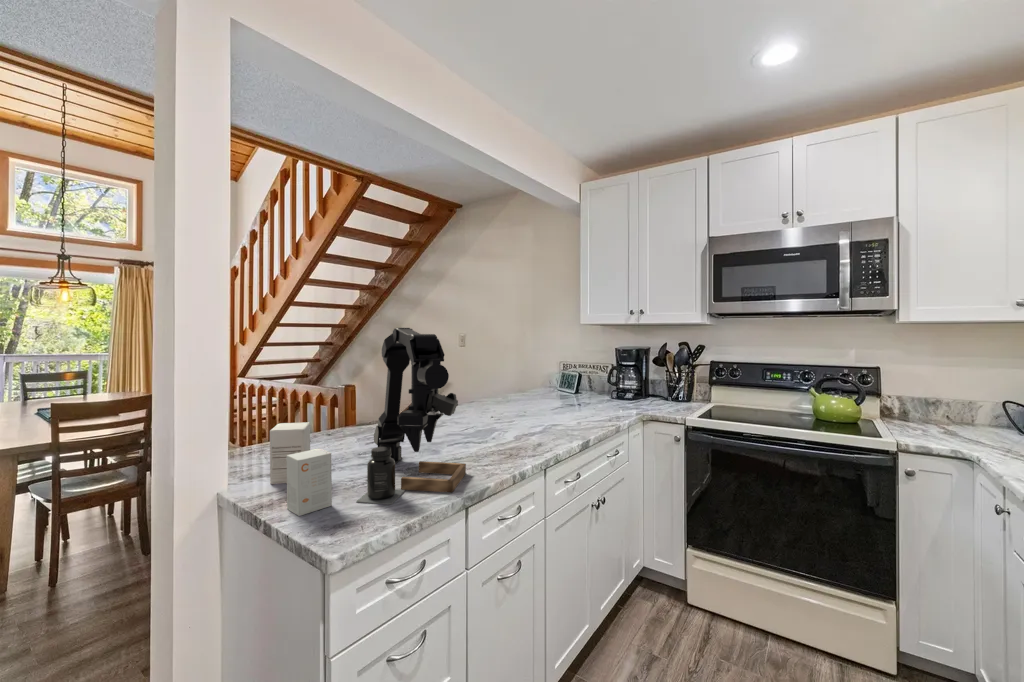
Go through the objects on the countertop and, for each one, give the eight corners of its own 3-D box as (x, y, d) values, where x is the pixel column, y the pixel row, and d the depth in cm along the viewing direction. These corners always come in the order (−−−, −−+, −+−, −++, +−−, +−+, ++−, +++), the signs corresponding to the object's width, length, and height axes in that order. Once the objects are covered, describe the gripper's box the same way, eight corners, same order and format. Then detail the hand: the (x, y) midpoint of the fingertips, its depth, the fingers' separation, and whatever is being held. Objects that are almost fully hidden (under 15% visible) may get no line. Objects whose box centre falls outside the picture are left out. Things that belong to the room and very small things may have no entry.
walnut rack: (401, 489, 117) (401, 478, 117) (420, 471, 132) (420, 461, 132) (452, 492, 116) (452, 481, 116) (465, 473, 130) (465, 463, 130)
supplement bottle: (400, 492, 114) (400, 446, 114) (384, 502, 108) (385, 454, 107) (378, 489, 117) (378, 444, 116) (361, 498, 110) (361, 451, 110)
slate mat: (356, 502, 109) (356, 501, 108) (372, 489, 117) (372, 488, 117) (391, 504, 107) (391, 503, 107) (405, 491, 116) (405, 490, 116)
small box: (319, 499, 110) (319, 447, 110) (332, 506, 106) (332, 452, 106) (286, 509, 104) (285, 454, 104) (298, 517, 100) (297, 460, 100)
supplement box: (277, 473, 129) (277, 422, 128) (311, 471, 131) (310, 421, 130) (268, 484, 120) (268, 430, 119) (304, 482, 122) (304, 428, 122)
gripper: (443, 390, 99) (443, 458, 100) (464, 380, 118) (464, 439, 118) (396, 388, 101) (396, 456, 101) (424, 380, 120) (424, 437, 120)
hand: (423, 446), depth 110 cm, fingers open, 9 cm apart
